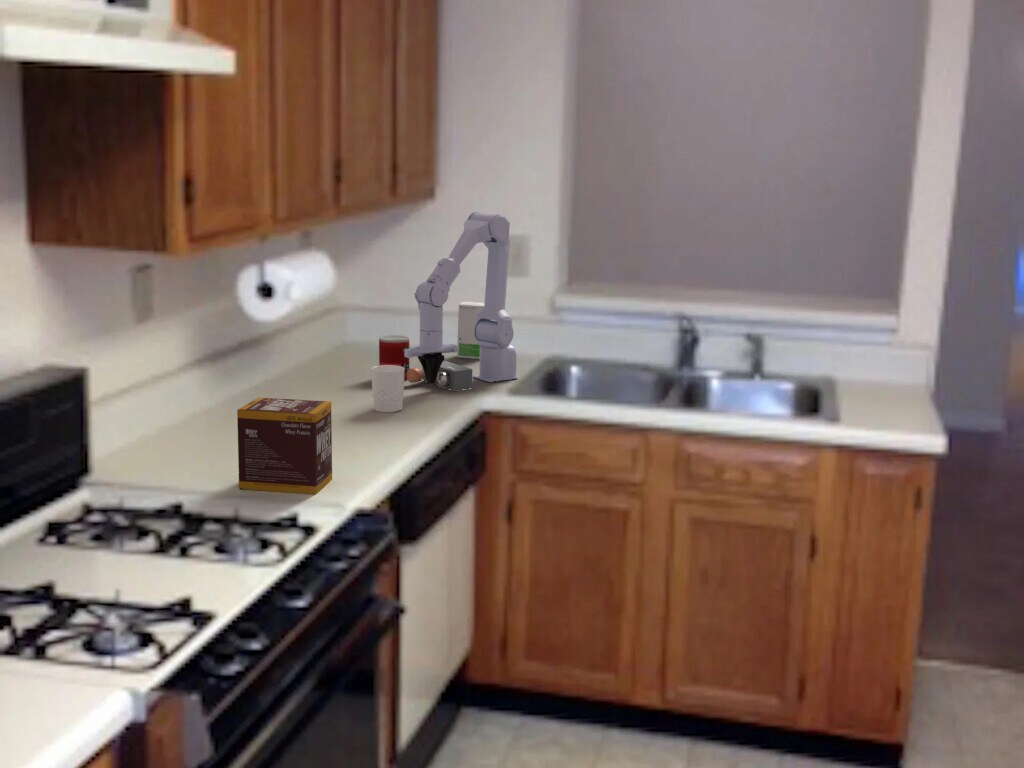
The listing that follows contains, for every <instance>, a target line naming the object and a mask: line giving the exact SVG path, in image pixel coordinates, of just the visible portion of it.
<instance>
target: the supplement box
mask: <svg viewBox="0 0 1024 768" xmlns="http://www.w3.org/2000/svg"><path fill="white" fill-rule="evenodd" d="M236 411H237V413H236V414H237V418H236V419H237V453H238V454H237V455H238V457H237V459H238V489H239V488H243V489H242V490H247V489H253V490H252V491H261V490H262V491H261V492H264V491H265V492H274V493H275V492H276V493H277V492H278V493H292V494H303V495H317V494H318V493H319V492H320V491H321V490H322V489H323V488H324V487H326V486H327V485H328V484H329V483H330V482H331V481H332V480H333V447H332V445H333V441H332V440H333V439H332V436H333V435H332V434H333V433H332V401H331V400H330V401H328V400H307V399H306V400H305V399H291V398H271V397H257V398H255V399H253V400H252V401H250V402H248V403H246V404H244V405H243V406H242V407H239V408H238V409H236Z"/></svg>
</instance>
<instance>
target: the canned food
mask: <svg viewBox="0 0 1024 768" xmlns="http://www.w3.org/2000/svg"><path fill="white" fill-rule="evenodd" d="M409 348H410V337H409V336H406V335H392V334H389V335H382V336H380V337H379V339H378V360H379V361H378V366H380V365H397V366H402V367H404V368H405V373H404V380H405V381H408V380H407V370H408V369H410V358H407V357H404V349H409Z"/></svg>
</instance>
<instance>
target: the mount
mask: <svg viewBox="0 0 1024 768" xmlns="http://www.w3.org/2000/svg"><path fill="white" fill-rule="evenodd" d="M440 372H448V373H449V374H450V378H451V381H450V384H449V385H448V386H442V387H444V388H443V389H445V388H447V389H446V390H448V389H451V390H453V391H452V392H454V391H455V392H458V391H457V390H462V389H469V388H472V389H473V369H472V368H471V367H467V366H463V365H460V364H456V363H453V362H450V361H446V360H444V361H443V362H442V364H441V366H440V368H439V371H438V373H440ZM423 380H424V381H426V378H422V381H423ZM424 381H423V382H424ZM433 384H436V383H433ZM433 384H432V385H433ZM442 387H441V388H442ZM451 390H450V391H451ZM462 391H463V390H462Z"/></svg>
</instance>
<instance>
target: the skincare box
mask: <svg viewBox="0 0 1024 768" xmlns="http://www.w3.org/2000/svg"><path fill="white" fill-rule="evenodd" d="M484 304H485V302H478V301H477V302H476V301H462V302H461V303H459V304H458V317H457V319H458V320H457V343H456V345H457V352H456V357H457V358H458V359H459V358H461V359H473V360H480V345H478V341H477V340H476V339H475V337H474V333H473V330H474V326H475V324H476V321H477V315H478V314H479V313H480V312H481V311H482V310H483V309H484Z"/></svg>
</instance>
